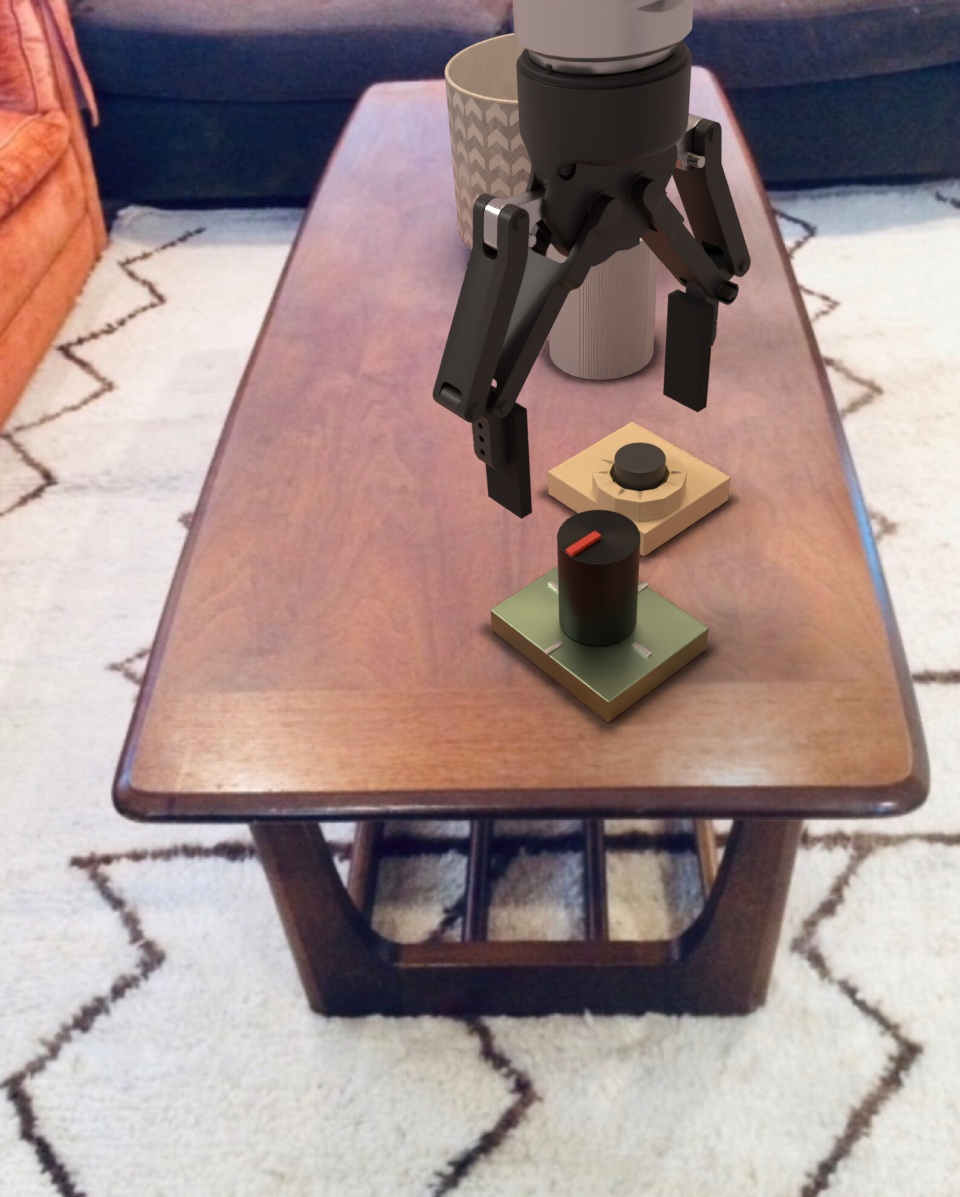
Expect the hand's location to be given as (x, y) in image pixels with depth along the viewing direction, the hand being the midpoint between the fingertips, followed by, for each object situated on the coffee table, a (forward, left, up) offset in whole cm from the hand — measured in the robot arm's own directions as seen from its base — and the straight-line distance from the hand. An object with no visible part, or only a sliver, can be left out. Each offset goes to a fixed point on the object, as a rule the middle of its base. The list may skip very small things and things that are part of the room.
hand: (601, 450), depth 61 cm
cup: (+25, -25, -16) cm, 39 cm away
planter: (+42, -35, -16) cm, 57 cm away
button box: (+9, -13, -16) cm, 22 cm away
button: (+7, -11, -12) cm, 18 cm away
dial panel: (0, 0, -16) cm, 16 cm away
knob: (0, 0, -13) cm, 13 cm away
